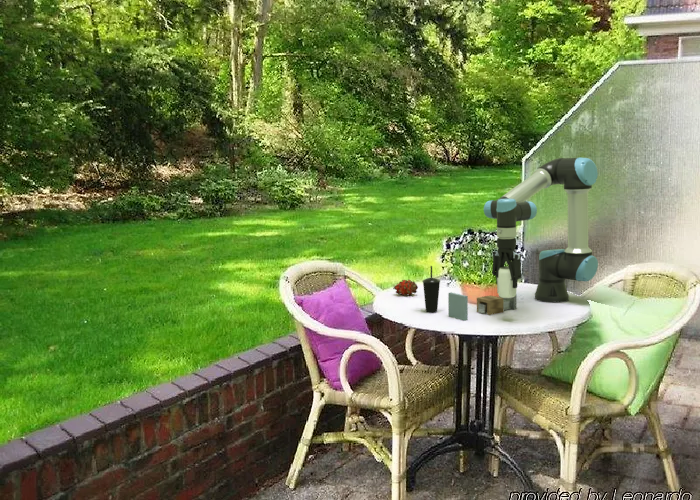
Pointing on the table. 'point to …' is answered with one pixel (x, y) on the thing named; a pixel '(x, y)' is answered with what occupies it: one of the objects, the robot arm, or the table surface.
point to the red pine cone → (406, 287)
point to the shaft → (507, 304)
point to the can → (504, 282)
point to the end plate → (458, 306)
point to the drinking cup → (431, 293)
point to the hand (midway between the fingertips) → (506, 294)
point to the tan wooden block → (491, 304)
